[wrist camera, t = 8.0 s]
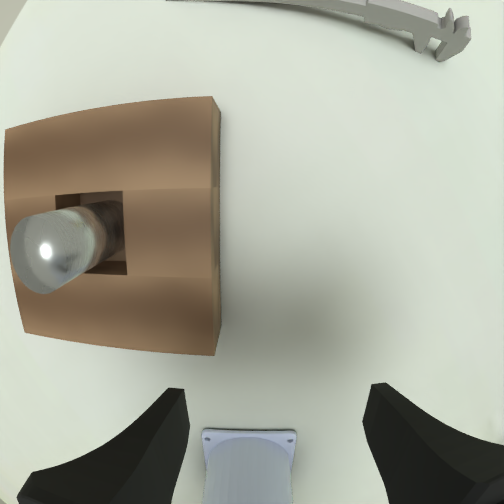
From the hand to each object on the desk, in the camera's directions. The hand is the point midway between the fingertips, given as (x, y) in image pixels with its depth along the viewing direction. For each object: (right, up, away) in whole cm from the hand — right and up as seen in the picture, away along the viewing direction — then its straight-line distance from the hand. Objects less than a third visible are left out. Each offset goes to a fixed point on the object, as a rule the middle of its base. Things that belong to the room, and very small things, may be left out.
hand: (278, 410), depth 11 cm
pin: (-10, +8, +8) cm, 15 cm away
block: (-10, +8, +9) cm, 16 cm away
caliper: (+3, +22, +6) cm, 23 cm away
